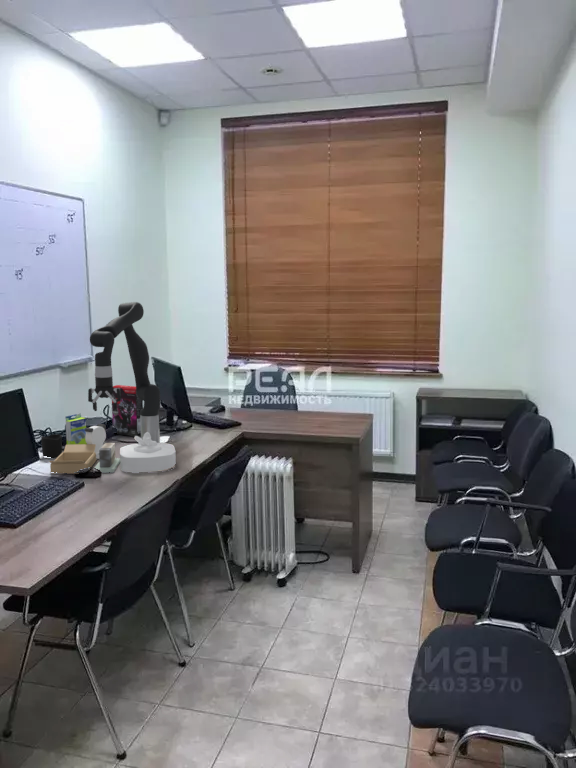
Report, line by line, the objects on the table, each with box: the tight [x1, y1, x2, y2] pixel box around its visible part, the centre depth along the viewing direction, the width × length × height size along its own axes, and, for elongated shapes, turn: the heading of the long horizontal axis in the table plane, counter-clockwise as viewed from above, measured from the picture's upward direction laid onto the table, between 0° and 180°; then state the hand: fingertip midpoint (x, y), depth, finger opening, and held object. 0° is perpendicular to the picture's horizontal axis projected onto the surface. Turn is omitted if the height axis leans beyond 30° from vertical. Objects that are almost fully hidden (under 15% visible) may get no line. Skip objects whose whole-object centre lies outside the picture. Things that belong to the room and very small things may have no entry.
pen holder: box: [40, 433, 63, 459], centre depth 306 cm, size 9×9×10 cm
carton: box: [48, 444, 97, 474], centre depth 288 cm, size 16×28×7 cm, turn 5°
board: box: [94, 457, 120, 474], centre depth 290 cm, size 9×18×2 cm, turn 5°
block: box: [99, 442, 116, 467], centre depth 290 cm, size 4×13×8 cm, turn 5°
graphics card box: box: [111, 384, 144, 437], centre depth 350 cm, size 17×7×27 cm, turn 68°
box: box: [64, 412, 87, 445], centre depth 320 cm, size 10×4×17 cm, turn 151°
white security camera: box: [85, 423, 107, 460], centre depth 307 cm, size 12×11×15 cm
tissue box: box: [119, 432, 177, 474], centre depth 293 cm, size 25×25×16 cm
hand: (105, 410), depth 287 cm, fingers open, 8 cm apart
